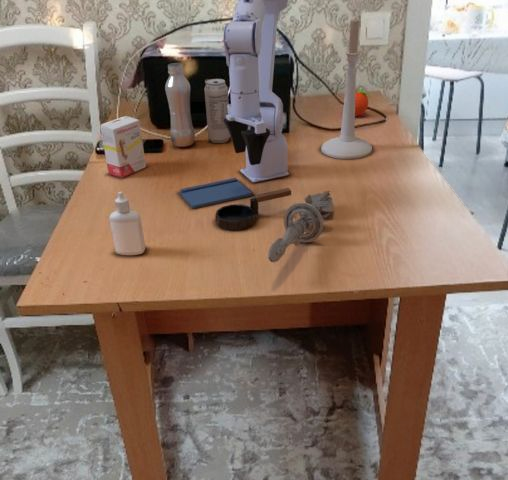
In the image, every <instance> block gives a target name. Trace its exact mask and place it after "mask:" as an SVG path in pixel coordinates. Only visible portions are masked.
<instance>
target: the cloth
mask: <svg viewBox="0 0 508 480" xmlns="http://www.w3.org/2000/svg"><path fill="white" fill-rule="evenodd" d="M178 192H179V195H180V196H181V197H182V198H183V199H184V200H185V202H186V203H187V204H188V205H189V206H190V207H191V208H192V209H198V208H202V207H207V206H208V207H209V206H212V205H216V204H220V203H225V202H229V201H230V202H231V201H235V200H239V199H244V198H247V197H252V196H253V193H252V192H251V190H249V189H248V188H247V187H246V186H245V185H243V183H241V182H240V181H239V180H238V178H236V177H232V178H228V179H223V180H217V181H214V182H208V183H203V184H199V185H193V186H190V187H185V188H181V189H180V190H179V191H178Z"/></svg>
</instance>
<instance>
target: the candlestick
mask: <svg viewBox="0 0 508 480" xmlns="http://www.w3.org/2000/svg"><path fill="white" fill-rule="evenodd" d="M349 22H350V23H349V24H350V25H349V26H350V27H349V41H348V50H347V51H345V52H344V54H345V55H346V57H347V58H346V61H347V64H348V67H347V69H346V71H347V73H346V80H345V81H346V82H345V89H344V99H343V108H342V118H341V126H340V134H339V136H337V137H333V138H330V139H327V140H326V141H325V142H324V143H322V145H321V153H323V154H324V155H326V156H328V157H331V158H335V159H340V160H341V159H342V160H353V159H360V158H364V157H367V156H369V155H370V154H371V153H372V151H373V147H372V144H371V143H369V142H368V141H367V140H365V139H363V138H360V137H357V136H356V135H355V133H356V131H355V127H356V125H355V124H356V123H355V122H356V116H355V90H356V82H357V81H356V80H357V79H356V78H357V68H356V65H357V62H358V61H359V55H360V54H361V53H362V52H361V51H358V48H359V47H358V46H359V34H360V33H359V30H360V19H357V18H356V17H355V18H354V19H350V21H349Z"/></svg>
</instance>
